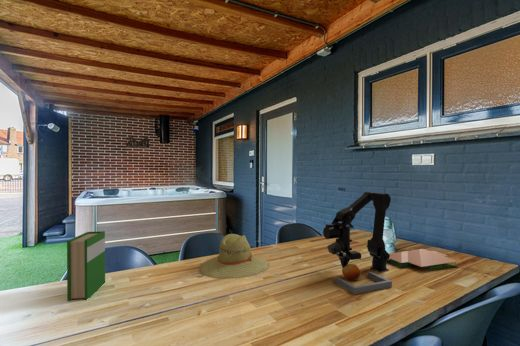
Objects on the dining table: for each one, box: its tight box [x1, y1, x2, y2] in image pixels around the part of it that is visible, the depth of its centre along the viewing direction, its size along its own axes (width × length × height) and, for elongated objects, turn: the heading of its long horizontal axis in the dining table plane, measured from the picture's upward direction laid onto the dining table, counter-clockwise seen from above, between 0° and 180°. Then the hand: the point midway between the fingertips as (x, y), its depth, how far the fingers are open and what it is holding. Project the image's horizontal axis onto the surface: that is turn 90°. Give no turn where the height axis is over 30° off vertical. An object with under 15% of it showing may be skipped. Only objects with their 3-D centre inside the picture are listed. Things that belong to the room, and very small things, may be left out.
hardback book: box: [66, 230, 106, 302], centre depth 122 cm, size 18×7×24 cm, turn 8°
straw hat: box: [198, 233, 271, 280], centre depth 154 cm, size 38×40×17 cm
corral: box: [334, 271, 393, 295], centre depth 127 cm, size 20×14×2 cm
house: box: [388, 248, 459, 271], centre depth 157 cm, size 23×33×8 cm
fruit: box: [341, 263, 361, 281], centre depth 134 cm, size 8×8×8 cm
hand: (343, 268), depth 139 cm, fingers closed
